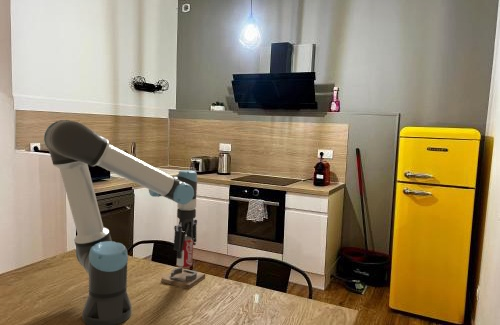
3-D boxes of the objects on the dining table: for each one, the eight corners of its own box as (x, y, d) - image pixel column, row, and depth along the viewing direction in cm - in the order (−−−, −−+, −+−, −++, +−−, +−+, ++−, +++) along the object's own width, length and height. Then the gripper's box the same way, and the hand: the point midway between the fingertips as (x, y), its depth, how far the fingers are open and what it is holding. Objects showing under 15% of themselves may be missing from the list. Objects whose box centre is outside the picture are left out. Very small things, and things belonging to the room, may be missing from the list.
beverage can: (193, 263, 156) (194, 236, 155) (190, 269, 150) (191, 240, 149) (179, 262, 157) (180, 235, 155) (175, 268, 150) (176, 239, 149)
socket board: (205, 277, 157) (205, 269, 157) (188, 288, 145) (189, 280, 145) (179, 271, 162) (179, 263, 162) (161, 281, 150) (161, 274, 150)
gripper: (191, 202, 161) (189, 254, 163) (165, 211, 143) (163, 268, 146) (206, 205, 158) (204, 257, 160) (181, 214, 141) (179, 272, 143)
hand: (184, 262), depth 153 cm, fingers closed on beverage can, 6 cm apart
